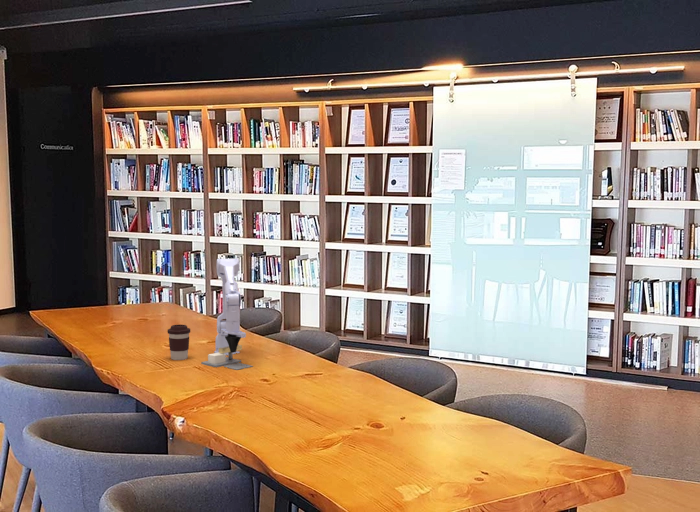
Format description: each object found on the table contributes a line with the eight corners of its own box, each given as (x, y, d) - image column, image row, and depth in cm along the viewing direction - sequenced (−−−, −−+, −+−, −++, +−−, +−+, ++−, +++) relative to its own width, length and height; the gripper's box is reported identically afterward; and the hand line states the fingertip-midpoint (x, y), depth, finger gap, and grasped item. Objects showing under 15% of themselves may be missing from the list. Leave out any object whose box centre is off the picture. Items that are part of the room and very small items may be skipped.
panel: (201, 364, 332) (201, 353, 331) (226, 359, 342) (226, 349, 342) (215, 368, 325) (215, 357, 325) (241, 362, 336) (241, 352, 335)
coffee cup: (193, 356, 347) (193, 324, 346) (186, 361, 337) (186, 327, 336) (172, 356, 348) (171, 323, 347) (164, 361, 338) (164, 327, 337)
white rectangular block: (208, 362, 331) (208, 354, 331) (219, 360, 335) (219, 352, 335) (214, 364, 328) (214, 356, 328) (225, 361, 332) (225, 353, 332)
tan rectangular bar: (218, 352, 334) (218, 348, 334) (238, 348, 342) (238, 344, 342) (222, 353, 332) (222, 348, 332) (241, 349, 340) (241, 345, 340)
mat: (223, 366, 327) (223, 366, 327) (239, 363, 334) (239, 362, 334) (236, 370, 321) (236, 369, 321) (253, 366, 328) (253, 365, 328)
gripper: (215, 320, 332) (215, 351, 334) (236, 324, 323) (236, 355, 324) (227, 318, 338) (228, 348, 339) (249, 322, 328) (249, 353, 329)
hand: (233, 352), depth 332 cm, fingers closed
